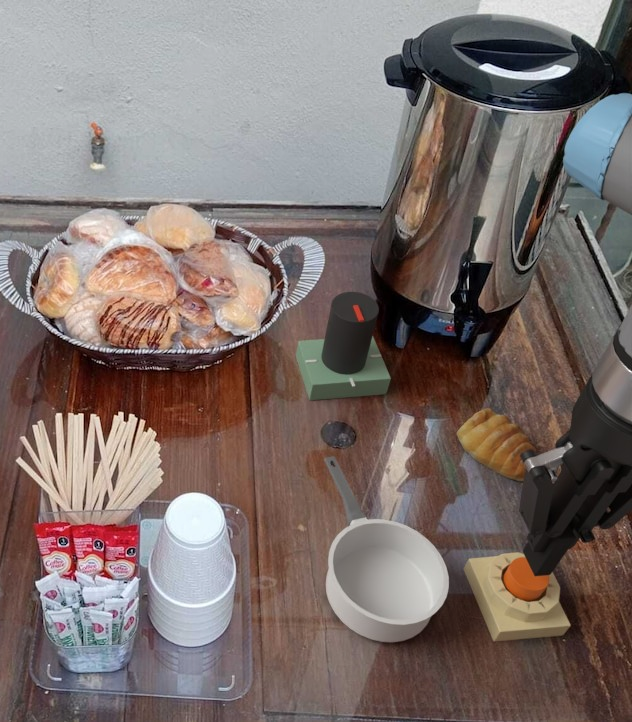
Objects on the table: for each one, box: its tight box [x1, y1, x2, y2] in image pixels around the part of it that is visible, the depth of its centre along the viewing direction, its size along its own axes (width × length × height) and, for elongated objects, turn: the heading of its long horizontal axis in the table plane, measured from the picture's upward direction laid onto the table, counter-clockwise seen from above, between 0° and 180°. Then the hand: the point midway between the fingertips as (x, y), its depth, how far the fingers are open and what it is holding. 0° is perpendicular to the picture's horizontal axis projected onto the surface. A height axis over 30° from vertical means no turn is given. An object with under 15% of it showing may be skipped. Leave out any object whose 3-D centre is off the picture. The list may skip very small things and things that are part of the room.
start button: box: [504, 557, 549, 601], centre depth 75 cm, size 4×4×2 cm
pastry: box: [456, 407, 538, 482], centre depth 90 cm, size 9×7×4 cm
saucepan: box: [323, 455, 450, 643], centre depth 81 cm, size 12×20×6 cm, turn 13°
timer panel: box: [295, 335, 392, 401], centre depth 100 cm, size 10×10×3 cm
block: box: [463, 551, 572, 642], centre depth 77 cm, size 7×8×4 cm
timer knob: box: [321, 291, 380, 374], centre depth 96 cm, size 6×6×9 cm
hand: (536, 562), depth 73 cm, fingers closed
